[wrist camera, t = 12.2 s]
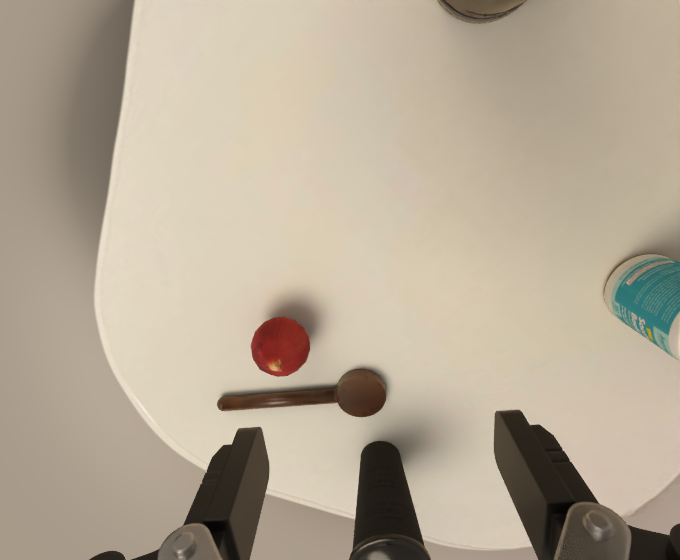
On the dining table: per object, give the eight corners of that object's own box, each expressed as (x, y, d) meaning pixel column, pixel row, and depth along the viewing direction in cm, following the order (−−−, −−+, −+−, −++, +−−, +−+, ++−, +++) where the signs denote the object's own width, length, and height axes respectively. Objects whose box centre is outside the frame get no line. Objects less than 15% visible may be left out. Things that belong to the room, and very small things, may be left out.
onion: (276, 360, 45) (261, 405, 38) (250, 318, 44) (228, 357, 36) (321, 339, 44) (315, 382, 37) (296, 296, 42) (284, 331, 35)
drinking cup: (384, 420, 48) (405, 607, 29) (423, 459, 50) (467, 657, 31) (336, 453, 50) (328, 648, 31) (376, 489, 51) (390, 693, 33)
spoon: (214, 380, 46) (210, 388, 45) (383, 366, 45) (384, 375, 44) (224, 419, 48) (220, 428, 47) (386, 407, 47) (387, 416, 46)
